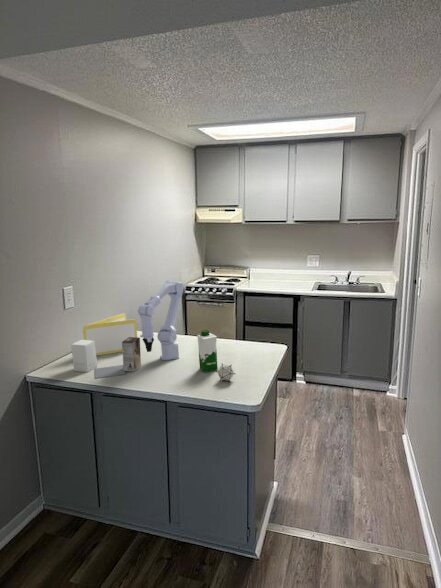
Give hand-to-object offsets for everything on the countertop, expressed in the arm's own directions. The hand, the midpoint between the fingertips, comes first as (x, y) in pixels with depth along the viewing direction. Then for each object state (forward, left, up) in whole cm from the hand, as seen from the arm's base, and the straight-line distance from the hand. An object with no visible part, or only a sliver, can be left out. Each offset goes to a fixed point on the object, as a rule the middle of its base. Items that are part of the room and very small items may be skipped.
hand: (149, 351), depth 223 cm
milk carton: (-29, +16, -9) cm, 34 cm away
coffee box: (+9, 0, -8) cm, 13 cm away
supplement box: (+33, -10, -9) cm, 36 cm away
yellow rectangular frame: (+16, -36, -9) cm, 41 cm away
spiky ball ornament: (-33, +34, -9) cm, 48 cm away
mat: (+21, 0, -8) cm, 23 cm away
